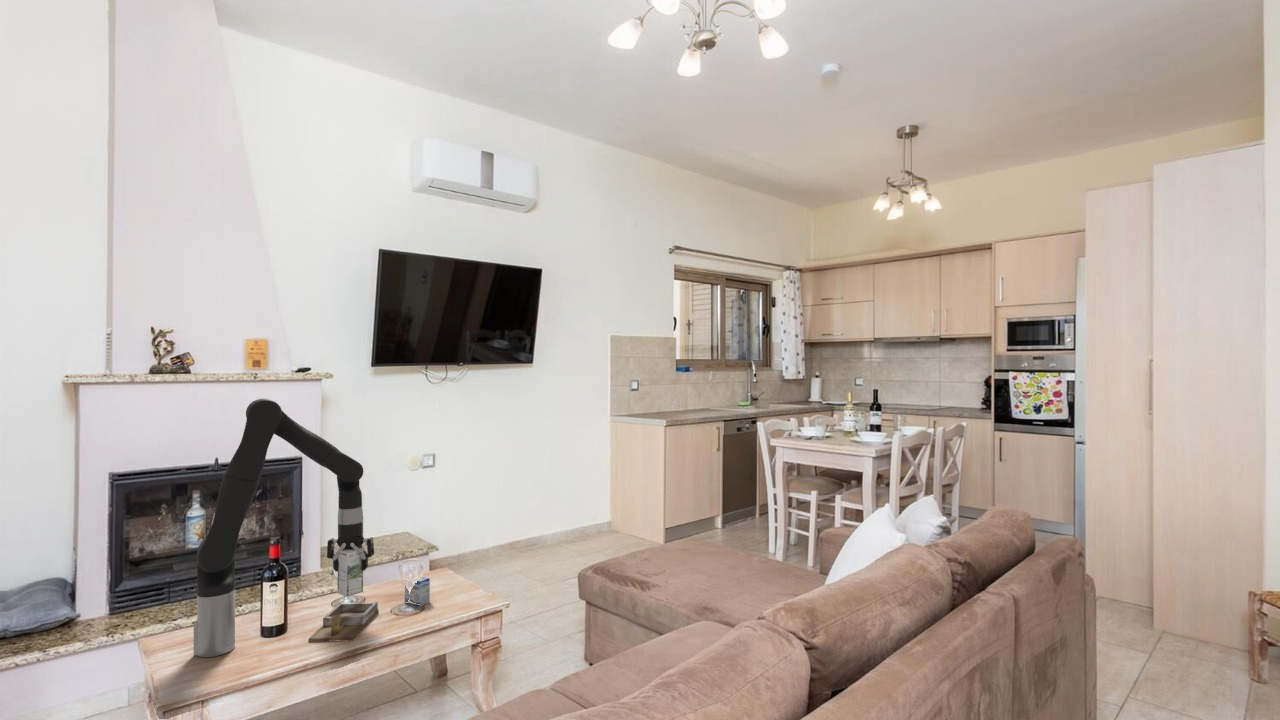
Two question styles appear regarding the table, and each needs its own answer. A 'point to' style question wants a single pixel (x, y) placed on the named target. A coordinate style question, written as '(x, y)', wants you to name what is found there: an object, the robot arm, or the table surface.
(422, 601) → the medicine box
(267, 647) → the table surface
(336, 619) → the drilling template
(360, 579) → the syrup box
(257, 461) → the robot arm
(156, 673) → the table surface
